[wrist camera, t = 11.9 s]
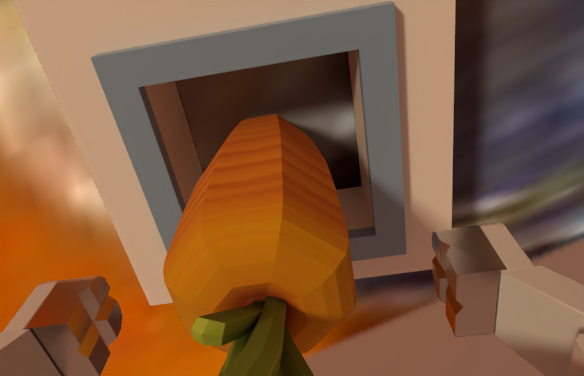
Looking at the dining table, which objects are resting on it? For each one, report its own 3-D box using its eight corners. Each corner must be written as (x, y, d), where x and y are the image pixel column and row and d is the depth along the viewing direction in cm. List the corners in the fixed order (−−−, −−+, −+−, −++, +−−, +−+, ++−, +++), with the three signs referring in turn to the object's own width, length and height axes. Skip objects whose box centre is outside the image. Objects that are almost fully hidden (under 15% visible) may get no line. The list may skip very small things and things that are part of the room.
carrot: (309, 181, 21) (359, 570, 8) (207, 163, 20) (89, 556, 8) (335, 84, 19) (468, 421, 6) (222, 59, 18) (82, 381, 5)
